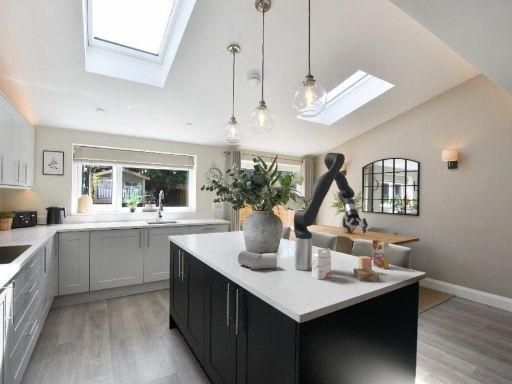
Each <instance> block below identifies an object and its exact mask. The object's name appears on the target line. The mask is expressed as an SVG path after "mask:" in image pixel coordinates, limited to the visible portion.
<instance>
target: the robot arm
mask: <svg viewBox="0 0 512 384" xmlns="http://www.w3.org/2000/svg"><path fill="white" fill-rule="evenodd" d="M323 161H324V162H323V163H324V165H325V167H326V169H327V171H326V172H325V173H323V174H322V175H321V176H319V177H318V178H317V179H316V180H315V182H314V183H313V186H312V187H311V191H310V203H309V204H308V206H307V208H306V209H298V210H296V211H295V213H294V215H293V232H294V235H295V250H294V268H295V269H296V270H299V269H300V271H310V270H311V271H312V254H313V233H312V232H311V231H310V230H309V229H308V227H312V226H313V225H314V223H315V221H316V219H317V217H318V214H319V211H320V209H321V207H322V204H323V202H324V200H325V199H326V196H327V194H328V193H329V191H330V189H331V186H332V185H333V182H335V184H336V187H337V189H338V190H339V191H338V192H337V193H338V194H337V196H338V198H339V200H340V201H341V202H342V204H343V207H344V213H345V217H346V218H345V217H343V218H342V221H341V223H342V226H343V228H344V229H346V231H347V233H348V234H351V233H352V231H351V226H353V227H354V226H357V227H360V228H361V230H362V233H363V234H366V233H367V228H368V226H369V223H368V222H367V219H366V218H365V217H363V218H360V215H359V211H358V209H357V206H356V204H355V200H354V199H353V198H355V195H356V194H355V191H354V190H353V188H352V187H351V186H350V184H349V182H348V179H347V177H346V176H345V175H344V173H342V172H341V170H342V168H343V166H344V164H345V161H346V157H345V154H344V153H341V152H327V153H326V154H325V156H324V159H323ZM346 222H347V223H346Z"/></svg>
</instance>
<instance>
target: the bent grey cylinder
mask: <svg viewBox="0 0 512 384" xmlns="http://www.w3.org/2000/svg"><path fill="white" fill-rule="evenodd" d="M237 262H238V264H239V265H240V264H242V265H241V266H243V265H245V266H244V267H246V266H248V267H247V268H250V267H251V268H250V269H254V270H261V269H260V268H272V269H276V268H277V266H278V259H277V254H276V253H275V252H272V253H271V252H270V253H269V252H268V253H262V254H260V253H256V252H252V251H248V250H241V251H240V252H239V254H238V256H237Z"/></svg>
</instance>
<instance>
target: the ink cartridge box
mask: <svg viewBox="0 0 512 384" xmlns="http://www.w3.org/2000/svg"><path fill="white" fill-rule="evenodd" d="M331 256H332V254H331V248H320V249H317V253H312V269H311V277H312V278H313V279H316V280H322V279H328V278H332V259H331V258H332V257H331Z"/></svg>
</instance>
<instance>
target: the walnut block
mask: <svg viewBox="0 0 512 384" xmlns="http://www.w3.org/2000/svg"><path fill="white" fill-rule="evenodd" d="M379 275H380V273H378V272H377V271H375V270H373V268H372V269H359V268H353V276H354V278H356V279H357V280H358V281H359V282H373V283H376V282H379V281H380V276H379Z"/></svg>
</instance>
